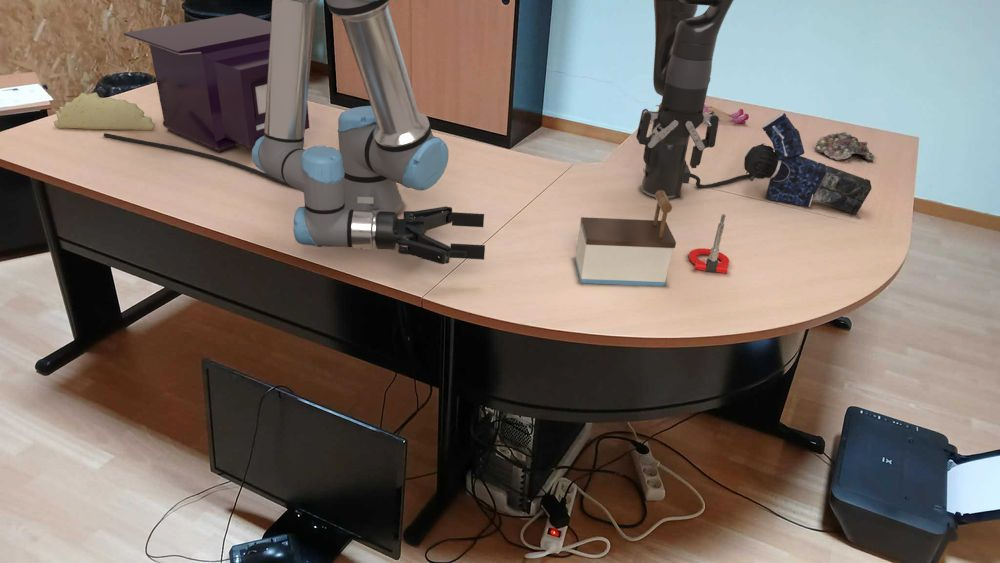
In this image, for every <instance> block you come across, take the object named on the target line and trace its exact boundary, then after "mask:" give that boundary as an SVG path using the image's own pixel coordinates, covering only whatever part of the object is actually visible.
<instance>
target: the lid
mask: <svg viewBox="0 0 1000 563" xmlns="http://www.w3.org/2000/svg"><path fill="white" fill-rule="evenodd" d="M655 200H656V207H655V211H654V215H653V219H632V218H631V219H630V218H609V217H608V218H607V217H587V216H586V217H584V216H581V217H580V223H581V227H582V231H583V234H584V238H585V242H586V245H610V246H635V247H659V248H673V249H675V248H676V245H677V241H676V240H675V237H674V235H673V232H672V230H671V229H670V226H669V225H668V223H667V217H668V214H669V213H671V211H673V205H672V204H671V202H670V199H668V198H667V196H666V194H665V192H664V191H663V190H659V191H657V192H656V193H655ZM660 212H662V215H661V220H659V217H660ZM580 223H579V224H580Z"/></svg>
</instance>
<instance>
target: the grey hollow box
mask: <svg viewBox="0 0 1000 563" xmlns="http://www.w3.org/2000/svg"><path fill="white" fill-rule="evenodd" d="M577 236H578V237H577V244H576V250H575V251H576V252H575V257H574V258H575V264H576V269H577V273H578V278H579V283H580V284H596V285H597V284H598V285H599V284H600V285H623V286H625V285H626V286H650V287H651V286H652V287H665V286H666V281H667V276H668V271H669V267H670V263H671V258H672V253H673V249H674V248H659V247H635V246H610V245H586V242H585V238H584V234H583V231H582V227H581V223H579V230H578V235H577Z"/></svg>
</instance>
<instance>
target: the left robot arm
mask: <svg viewBox="0 0 1000 563" xmlns="http://www.w3.org/2000/svg"><path fill="white" fill-rule="evenodd" d="M319 1H320V0H272V1H271V13H270V14H271V15H270V16H271V18H270V22H271V31H270V47H269V63H268V79H267V95H266V112H265V128H264V136H262V137H261V138H259V139H258V140H257V141H256V144H255V145H254V146H253V147H252V149H251V159H252V162H253V164H254V166H255V167H256V168H257V169H256V168H253V167H251V166H248V165H245V164H243V163H239V162H236V161H233V160H230V159H228V158H224V157H222V156H221V157H220V156H217V155H213V154H210V153H206V152H203V151H198V150H193V149H190V148H186V147H185V148H184V147H181V146H174V145H170V144H166V143H159V142H155V141H154V142H153V141H148V140H144V139H137V138H132V137H126V136H121V135H117V134H112V133H107V132H104V133H103V137H105V138H109V139H115V140H119V141H125V142H130V143H135V144H140V145H146V146H151V147H157V148H162V149H168V150H171V151H176V152H177V151H178V152H181V153H187V154H191V155H196V156H199V157H203V158H207V159H211V160H214V161H218V162H221V163H225V164H227V165H231V166H233V167H237V168H240V169H242V170H245V171H248V172H250V173H253V174H256V175H259V176H261V177H263V178H266V179H269V180H271V181H273V182H276V183H277V184H280V185H283V186H286V187H291V188H295V189H297V190H299V191H301V192H303V201H304V202H303V203H304V206H299V207H297V208H296V210H295V212H294V217H293V235H294V239H295V241H296V242H297V243H298V244H299V245H304V246H313V247H317V248H321V247H327V248H328V247H331V248H332V247H333V248H349V249H350V248H352V249H353V248H354V249H360V250H364V249H368V250H373V249H374V248H376V249H377V250H383V251H394V250H395V249H396V248H397V253H398V254H400V255H401V254H403V255H410V256H412V257H417V258H419V259H423V260H426V261H429V262H433V263H436V264H440V265H445V264H449V263H450V259H466V260H467V259H468V260H483V261H484V260H485V251H486V244H469V243H468V244H467V243H452V242H450V246H449V245H448V244H445V243H444V242H441V241H439V240H436V239H435V238H433V237H431V236H429V235H426V233H427V231H430V230H433V229H436V228H439V227H442V226H446V225H449V224H451V226H453V227H466V228H467V227H468V228H484V225H485V224H484V222H485V213H476V212H475V213H474V212H473V213H472V212H454V211H453V207H452V206H447V205H445V206H440V207H434V208H433V207H432V208H427V209H420V210H410V211H409V210H404V211H403V214H402V215H403V216H402V217H403V218H398V214H399V213H400V212H401V210H402V208H403V198H402V195H401V193H400V190H399V188H398V185H397V184H399V185H401V186H403V187H405V188H407V189H412V190H415V191H420V192H421V191H426V190H428V189H431V188H432V187H434V186H435V185H436V184H437V183H438V182H439V181H440V179H441V178H442V176H443V175H444V173H445V170H446V169H447V167H448V164H449V163H448V162H449V156H450V155H449V147H448V145H447V143H446V142H445V141H444V140H443V139H442V138H440V137H435V136H434V134H433V130H432V128H431V124H430V121H429V118H428V117H427V115H426V114H425V113H423V112H419V109H418V106H417V102H416V98H415V94H414V95H413V93H414V90H413V89H412V84H411V81H410V78H409V74H408V70H407V67H406V62H405V60H404V57H403V53H402V50H401V45H400V42H399V39H398V35H397V32H396V29H395V26H394V21H393V18H392V14H391V11H390V8H389V4H390V2H391V0H325V1H326V4H327V7H328V10H329V12H330V13H331V14H332V15H334V16H335V17H339V19H341V22H342V24H343V27H344V30H345V34H346V36H347V39H348V42H349V45H350V47H351V51H352V53H353V57H354V59H355V62H356V65H357V68H358V72H359V74H360V77H361V81H362V83H363V86H364V89H365V92H366V96H367V98H368V102H369V104H370V105H366V106H364V105H363V106H357V107H352V108H349V109H346V110H344V111H342V112H341V113H340V115H339V116H338V120H337V137H338V138H337V139H338V149H337V148H335V147H333V146H326V145H316V146H314V145H313V146H311V147H308V148H305V149H304V146H305V145H304V144H305V130H306V129H305V120H306V109H307V104H308V96H309V86H310V85H309V84H310V73H311V62H312V50H313V39H314V27H315V15H316V5H317V3H318V2H319ZM412 90H413V91H412Z"/></svg>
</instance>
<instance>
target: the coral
mask: <svg viewBox="0 0 1000 563" xmlns="http://www.w3.org/2000/svg"><path fill="white" fill-rule="evenodd" d="M815 150H816V151H817V152H818V153H824V155H825V156H827V157H828V158H830V159H832V160H835V161H839V160H840V161H841V160H844V159H848V158H851V157H852V155H853V154H854V155H857V154H859V155H860V156H861V158H863V159H865V160H866V161H871V162H874V160H875V159H874V158H875V155H874V154H873V153H872V152H871V151H870V149H869V147H868V142H867V141H859V139H858V137H855V136H853V135H852V134H851V133H849V132H848V131H846V132H844V131H843V132H836V133H830V134H827V135H826V136H822V137H820V138H819V140H818V141H817V142H816V144H815ZM873 157H874V158H873Z"/></svg>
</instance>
